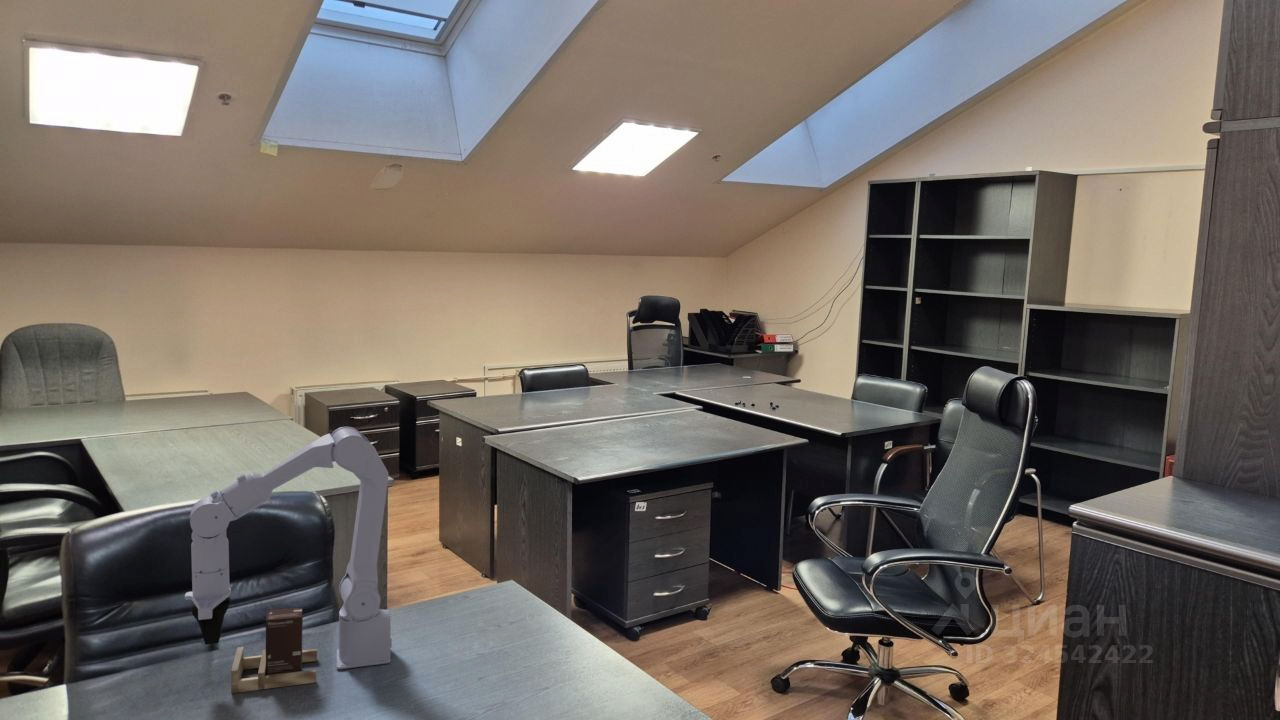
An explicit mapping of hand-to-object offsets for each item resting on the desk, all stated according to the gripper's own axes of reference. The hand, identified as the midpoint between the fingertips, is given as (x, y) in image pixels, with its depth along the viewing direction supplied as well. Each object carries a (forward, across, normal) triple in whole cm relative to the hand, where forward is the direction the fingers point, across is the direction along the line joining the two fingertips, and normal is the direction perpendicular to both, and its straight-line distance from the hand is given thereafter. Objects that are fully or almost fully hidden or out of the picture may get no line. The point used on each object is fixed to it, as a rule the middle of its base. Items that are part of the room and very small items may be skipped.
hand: (212, 642), depth 141 cm
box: (+8, +1, +12) cm, 14 cm away
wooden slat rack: (+8, 0, +10) cm, 13 cm away
